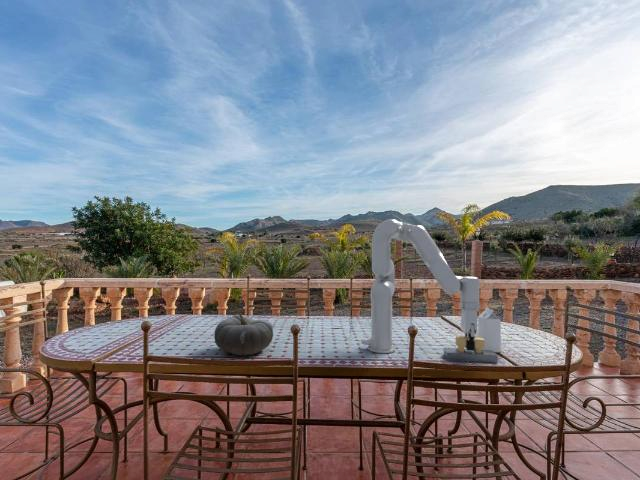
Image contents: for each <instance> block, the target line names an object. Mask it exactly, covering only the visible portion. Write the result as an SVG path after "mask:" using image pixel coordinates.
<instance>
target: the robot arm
mask: <svg viewBox="0 0 640 480" xmlns="http://www.w3.org/2000/svg"><path fill="white" fill-rule="evenodd" d="M392 239H394V240H399V241H402V242H406V243H411V245H412V246H413V247H414V249H415V250H416V252H417V253H418V255H419V256H420V258H421V260H422V261H423V262H424V264H425V266H426V267H427V269H428V270H429V271H430V272H431V274H432V275H433V277H434V278H435V280H436V282H437V283H438V284H439V286H440V288H441V289H442V291H443V292H444V293H446V294H447V295H454V294H457V293H460V295H459V297H460V299H459V307H460V308H459V309H460V310H461V313H460V330H461V331H462V332H463V333H464V337H467V340H466V347H465V346H464V349H467V350H475V338H476V337H475V336H476V335H477V334H478V311H479V310H480V279H479V277H477V276H458V275H456V274H455V273H454V272H453V270H452V268H451V267H450V265H449V264H448V262H447V261H446V259H445V257H444V255H443V253H442V252H441V250H440V248H439V247H438V245H437V244H436V242H435V240H433V238H432V237H431V235H430V234H429V232H428V231H427V229H426V228H425V226H423V225H421V224H415V225H414V224H411V223H406V222H402V221H399V220H397V219H395V218H389V219H386V220H383V221H382V222H381V223H379V224H378V225H377V226H376V227H375V229H374V230H373V234H372V237H371V271H372V273H373V275H374V283H373V284H372V285H371V289H370V309H371V311H370V312H371V313H370V315H371V316H370V317H371V319H370V323H371V326H370V328H371V329H370V339H369V338H368V339H361V340H360V341H361V342H360V344H361V345H364V346H365V345H366V346H367V351H370V352H373V353H377V354H391V353H393V352H395V351H396V347H395V346H394V345H393V295H394V293H395V291H396V280H395V274H396V273H395V265H394V262H393V260H392V258H391V257H392V255H391V240H392Z"/></svg>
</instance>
